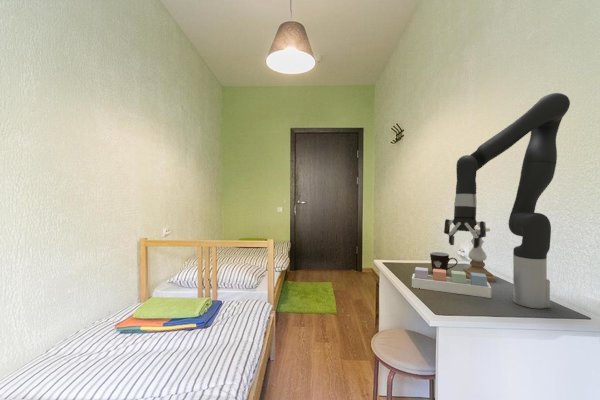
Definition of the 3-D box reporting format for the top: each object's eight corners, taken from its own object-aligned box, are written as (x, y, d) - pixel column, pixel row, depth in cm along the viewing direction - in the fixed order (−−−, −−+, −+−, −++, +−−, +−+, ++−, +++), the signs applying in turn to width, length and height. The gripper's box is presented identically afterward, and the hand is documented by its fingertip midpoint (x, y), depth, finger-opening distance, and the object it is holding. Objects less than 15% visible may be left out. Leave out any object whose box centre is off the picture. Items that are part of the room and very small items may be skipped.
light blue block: (485, 284, 111) (485, 273, 111) (486, 288, 107) (486, 277, 106) (470, 283, 113) (470, 272, 113) (471, 286, 109) (471, 275, 109)
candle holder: (496, 282, 123) (496, 229, 123) (469, 281, 126) (469, 229, 125) (484, 275, 134) (484, 226, 134) (460, 274, 136) (460, 226, 136)
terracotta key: (446, 280, 117) (446, 269, 117) (446, 283, 113) (446, 272, 113) (433, 278, 120) (433, 268, 120) (432, 282, 115) (432, 271, 115)
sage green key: (465, 282, 114) (464, 271, 114) (466, 286, 110) (466, 275, 110) (451, 280, 116) (451, 270, 116) (451, 284, 112) (451, 273, 112)
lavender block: (428, 278, 121) (428, 268, 120) (427, 281, 116) (427, 271, 116) (415, 276, 123) (415, 266, 123) (415, 280, 118) (414, 269, 118)
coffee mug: (426, 272, 140) (426, 253, 140) (437, 270, 144) (437, 251, 144) (446, 278, 130) (446, 257, 130) (458, 276, 133) (458, 255, 133)
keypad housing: (487, 291, 112) (487, 281, 112) (491, 298, 105) (491, 287, 105) (413, 282, 125) (413, 273, 125) (411, 287, 118) (411, 278, 118)
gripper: (488, 207, 106) (487, 248, 105) (449, 206, 117) (448, 244, 116) (483, 205, 101) (481, 249, 101) (442, 204, 112) (440, 244, 111)
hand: (463, 246), depth 108 cm, fingers open, 8 cm apart
